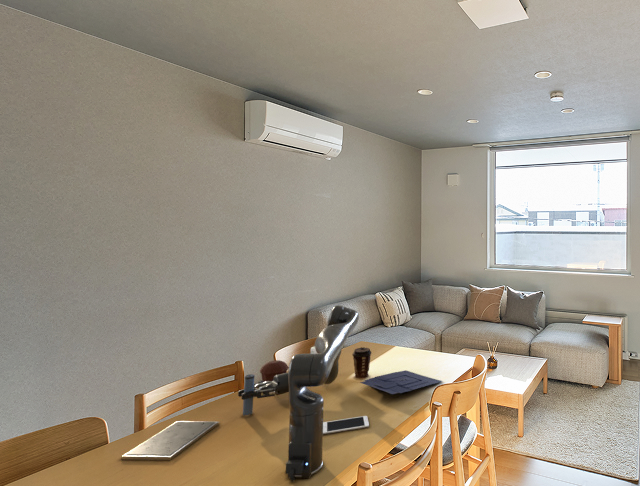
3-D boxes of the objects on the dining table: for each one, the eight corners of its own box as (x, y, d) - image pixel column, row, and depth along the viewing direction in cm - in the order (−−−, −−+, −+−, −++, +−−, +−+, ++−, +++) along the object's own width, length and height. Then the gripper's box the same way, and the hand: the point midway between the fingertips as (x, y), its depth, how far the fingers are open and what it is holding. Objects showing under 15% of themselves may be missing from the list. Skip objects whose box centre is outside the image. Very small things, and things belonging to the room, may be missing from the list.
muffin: (289, 377, 185) (289, 356, 185) (287, 386, 174) (287, 364, 175) (261, 381, 180) (261, 359, 181) (257, 390, 170) (257, 367, 170)
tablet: (170, 460, 118) (170, 456, 118) (121, 459, 118) (121, 455, 119) (218, 424, 140) (218, 421, 140) (177, 423, 140) (177, 420, 140)
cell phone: (320, 424, 141) (320, 422, 141) (367, 417, 146) (367, 415, 146) (320, 435, 133) (320, 433, 133) (369, 427, 139) (369, 425, 139)
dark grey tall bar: (249, 415, 146) (251, 377, 146) (240, 415, 146) (242, 377, 146) (254, 411, 149) (256, 374, 149) (245, 411, 149) (247, 374, 149)
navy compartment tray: (355, 388, 170) (356, 379, 171) (404, 375, 194) (405, 368, 195) (395, 402, 156) (396, 393, 157) (442, 387, 181) (443, 379, 181)
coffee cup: (364, 372, 193) (364, 345, 193) (374, 376, 188) (375, 348, 188) (348, 377, 186) (349, 349, 186) (359, 381, 181) (360, 353, 181)
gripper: (280, 368, 163) (234, 380, 150) (295, 377, 154) (246, 390, 141) (280, 386, 163) (233, 399, 150) (295, 396, 153) (246, 411, 141)
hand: (240, 395), depth 145 cm, fingers closed on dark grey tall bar, 3 cm apart
